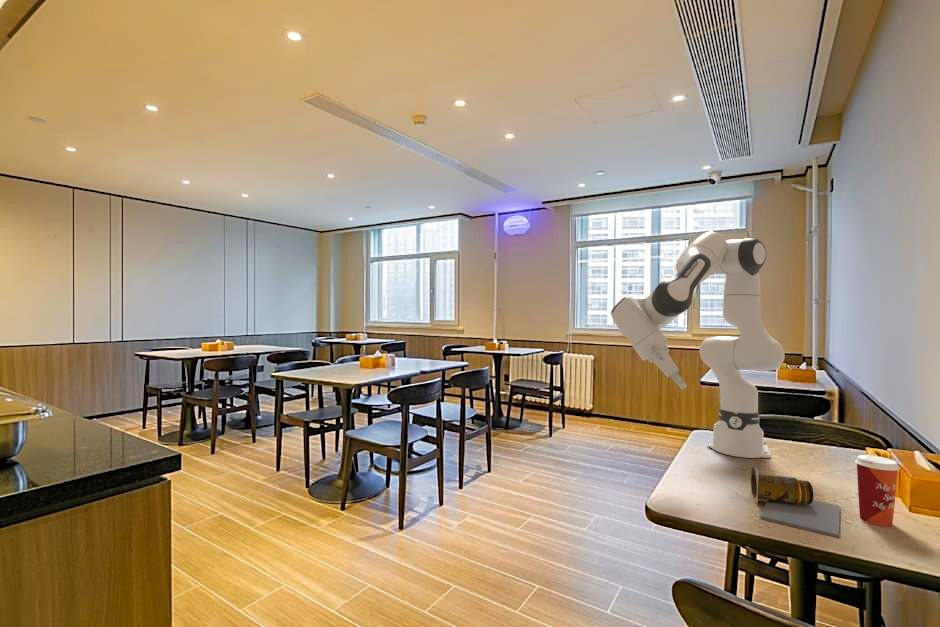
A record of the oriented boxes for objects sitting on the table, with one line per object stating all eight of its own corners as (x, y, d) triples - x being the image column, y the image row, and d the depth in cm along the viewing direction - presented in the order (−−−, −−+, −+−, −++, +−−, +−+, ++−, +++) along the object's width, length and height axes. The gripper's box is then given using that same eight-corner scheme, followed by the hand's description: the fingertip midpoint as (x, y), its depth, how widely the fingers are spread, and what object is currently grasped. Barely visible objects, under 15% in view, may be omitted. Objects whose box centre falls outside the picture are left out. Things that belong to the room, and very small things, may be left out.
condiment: (756, 505, 116) (815, 512, 112) (757, 471, 115) (816, 477, 112) (749, 493, 123) (804, 499, 119) (750, 460, 122) (805, 466, 118)
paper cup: (886, 531, 103) (887, 466, 103) (846, 517, 110) (847, 456, 110) (906, 525, 106) (907, 462, 106) (866, 512, 113) (867, 452, 113)
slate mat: (771, 493, 124) (771, 491, 124) (839, 508, 115) (839, 505, 115) (760, 518, 108) (760, 516, 108) (838, 537, 99) (838, 534, 99)
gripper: (661, 338, 126) (696, 382, 122) (662, 342, 145) (693, 381, 141) (640, 352, 128) (674, 396, 123) (645, 354, 147) (674, 393, 142)
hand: (684, 388), depth 132 cm, fingers closed
